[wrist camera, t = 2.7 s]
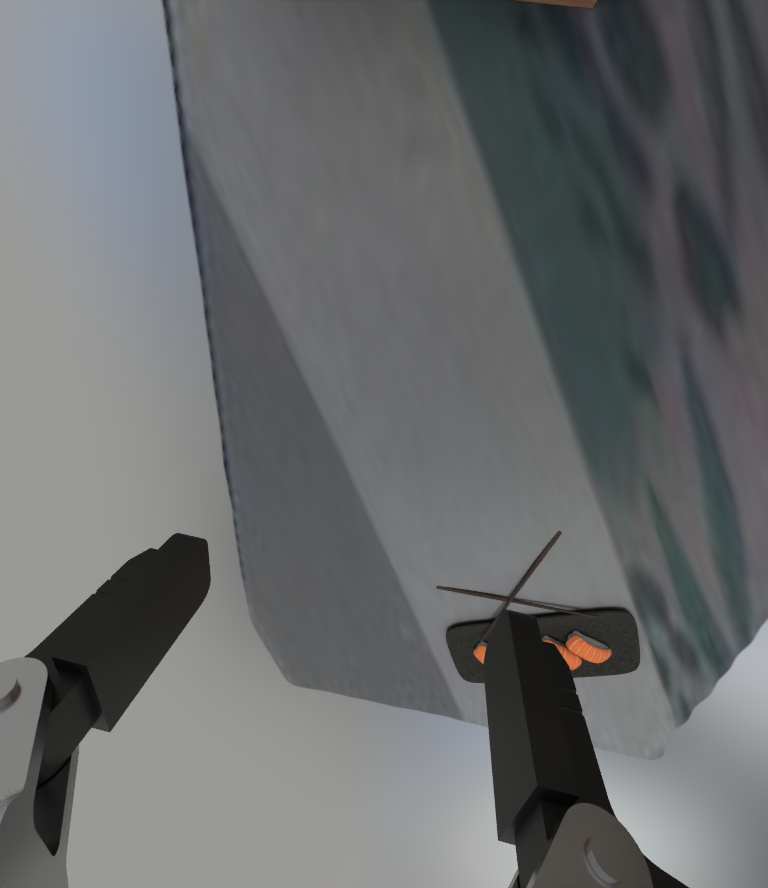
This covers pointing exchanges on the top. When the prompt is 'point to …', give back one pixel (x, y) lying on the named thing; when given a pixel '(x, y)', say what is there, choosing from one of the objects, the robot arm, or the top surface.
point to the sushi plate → (555, 637)
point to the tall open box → (566, 2)
